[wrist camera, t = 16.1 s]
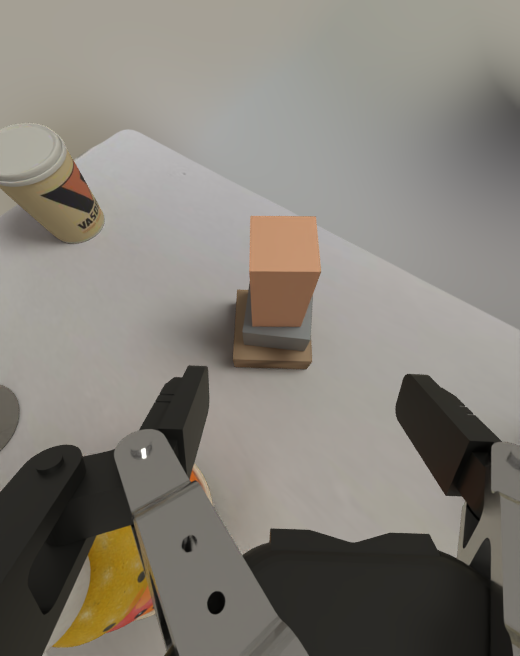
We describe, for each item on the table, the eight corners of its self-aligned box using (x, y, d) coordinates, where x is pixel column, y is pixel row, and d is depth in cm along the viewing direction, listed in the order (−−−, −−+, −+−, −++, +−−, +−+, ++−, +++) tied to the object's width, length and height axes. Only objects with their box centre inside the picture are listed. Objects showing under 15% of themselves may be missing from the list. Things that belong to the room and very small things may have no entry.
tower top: (243, 344, 32) (242, 332, 28) (251, 291, 35) (250, 274, 31) (304, 351, 32) (310, 339, 28) (307, 297, 35) (313, 280, 31)
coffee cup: (100, 250, 41) (42, 180, 30) (37, 245, 41) (-43, 174, 30) (117, 202, 44) (71, 123, 33) (59, 198, 45) (-6, 118, 33)
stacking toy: (145, 649, 25) (-138, 1190, 7) (45, 534, 28) (-332, 705, 10) (243, 502, 29) (226, 603, 11) (148, 417, 32) (14, 389, 14)
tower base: (235, 367, 35) (232, 359, 31) (238, 304, 39) (237, 289, 35) (306, 369, 35) (312, 361, 32) (303, 306, 39) (308, 291, 35)
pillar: (252, 326, 29) (249, 271, 19) (252, 284, 31) (250, 216, 21) (300, 326, 29) (320, 271, 19) (298, 284, 31) (315, 216, 21)
